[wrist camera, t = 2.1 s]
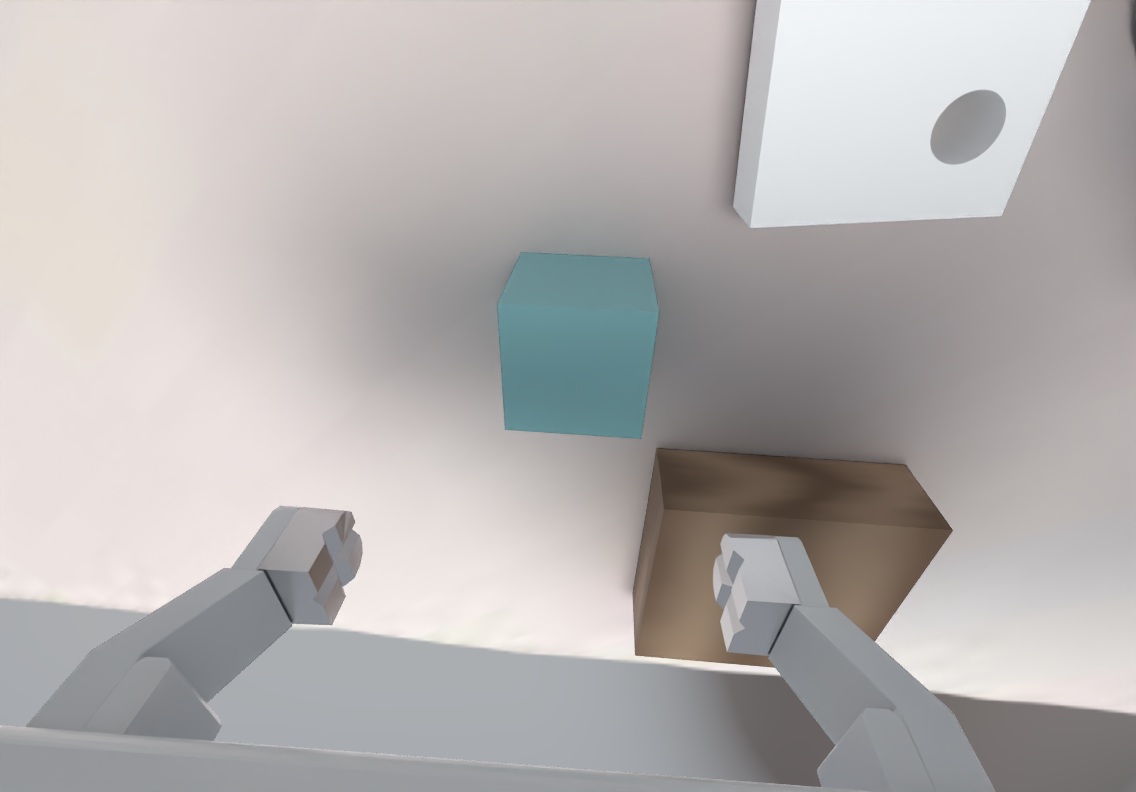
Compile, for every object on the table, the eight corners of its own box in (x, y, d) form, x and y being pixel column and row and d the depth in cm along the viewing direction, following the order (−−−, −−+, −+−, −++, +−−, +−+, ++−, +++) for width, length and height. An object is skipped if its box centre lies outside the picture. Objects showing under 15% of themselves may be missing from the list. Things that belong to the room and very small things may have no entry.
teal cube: (649, 257, 19) (659, 312, 15) (635, 367, 22) (641, 438, 18) (521, 251, 19) (497, 303, 15) (524, 360, 22) (505, 429, 18)
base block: (905, 465, 24) (953, 530, 20) (825, 608, 31) (851, 674, 27) (656, 448, 24) (663, 509, 21) (632, 592, 31) (635, 655, 28)
